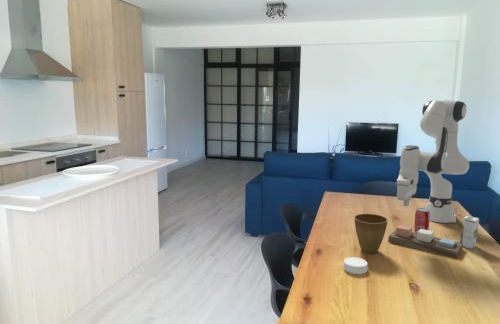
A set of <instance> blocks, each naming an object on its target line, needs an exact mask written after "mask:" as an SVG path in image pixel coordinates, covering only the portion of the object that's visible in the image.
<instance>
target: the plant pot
mask: <svg viewBox="0 0 500 324" xmlns="http://www.w3.org/2000/svg"><path fill="white" fill-rule="evenodd" d="M354 225H355V231H356V237H357V240H358V243H359V247H360V250H361V251H362V252H364V253H367V254H376V253H377V252H378V251H379V249H380V247H381V244H382V242H383V240H384V236H385V234H386V230H387V227H388V226H387V225H388V218H387V217H386V216H383V215H380V214H375V213H359V214H356V215H355V216H354Z"/></svg>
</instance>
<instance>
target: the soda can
mask: <svg viewBox="0 0 500 324" xmlns="http://www.w3.org/2000/svg"><path fill="white" fill-rule="evenodd" d="M430 221H431V220H430V212H429V210H428V209H426V207H425V208H424V207H418V208H416V210H415V213H414V226H413V227H414V228H413V232H414V233H417V232H418V231H419V230H420V229H424V230H429V231H430Z"/></svg>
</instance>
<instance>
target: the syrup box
mask: <svg viewBox="0 0 500 324" xmlns="http://www.w3.org/2000/svg"><path fill="white" fill-rule="evenodd" d="M479 224H480V218H479V217H474V216H471V215H466V216H465V217H463V219H462V225H461V232H460V239H459V243H463V246H462V248H466V249H471V250H473V249H474V248H475V247H476V245H477V241H478V232H479Z"/></svg>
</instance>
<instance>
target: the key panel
mask: <svg viewBox="0 0 500 324" xmlns="http://www.w3.org/2000/svg"><path fill="white" fill-rule="evenodd" d="M441 239H442V237H441V238H440V237H435V236H433V240H432V241H431V242H430V243H429V242H424V241H420V240H417V233H416V232H414V231H412V235H411V236H410V237H409V238H407V237H402V236H398V235H396V229H395V230H394V231H393V232H391V233H390V234H389V235H388V240H387V242H389V243H394V244H397V245H401V246H405V247H410V248H414V249H417V250H422V251H427V252H430V253H435V254H439V255H443V256H447V257H451V258H455V259H456V258H458V257H459V255H460V253H461V252H462V250H463V247H462V246H463V243H460V241H459V242H458V241H456V244H455V248H449V247H445V246H440V245H439V241H440V240H441Z"/></svg>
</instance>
